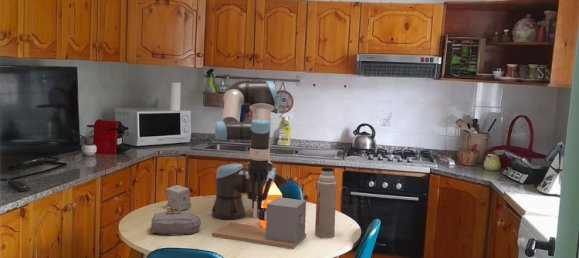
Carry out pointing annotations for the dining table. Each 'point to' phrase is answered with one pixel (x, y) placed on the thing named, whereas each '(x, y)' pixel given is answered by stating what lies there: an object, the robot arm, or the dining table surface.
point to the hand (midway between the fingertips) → (256, 216)
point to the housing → (272, 226)
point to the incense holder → (178, 197)
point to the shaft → (263, 215)
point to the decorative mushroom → (279, 181)
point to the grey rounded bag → (175, 222)
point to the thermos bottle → (325, 204)
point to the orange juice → (270, 198)
